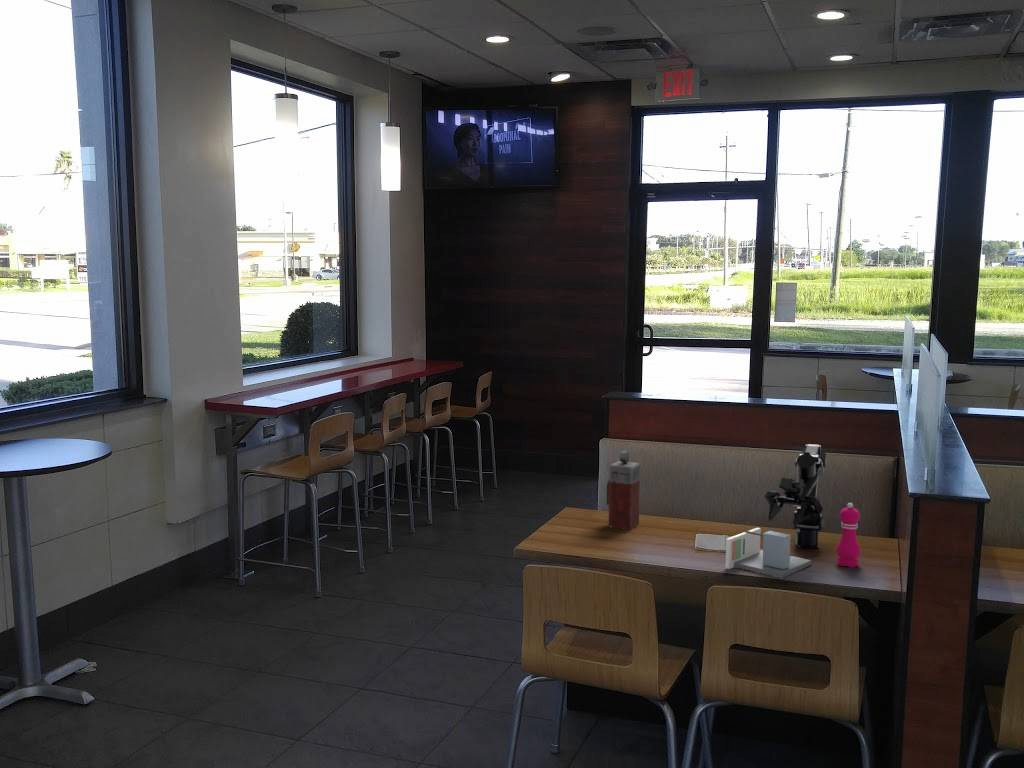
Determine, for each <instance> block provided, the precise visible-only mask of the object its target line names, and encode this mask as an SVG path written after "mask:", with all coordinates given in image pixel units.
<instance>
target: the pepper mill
mask: <svg viewBox="0 0 1024 768" xmlns="http://www.w3.org/2000/svg"><path fill="white" fill-rule="evenodd" d="M846 506H847V507H844V508H842V509H841V510H840V512H839V519H840V520H841V522H840V523H841V525H840V527H841V530H842V532H841V536H840V538H839V541H838V543H837V545H836V549H835V550H836V554H837V555H838V557H837V561H836V562H837V565H838V564H839V565H838V566H840V565H842V566H841V567H843V566H849V567H848V568H856V567H855V566H857V567H859V562H860V561H859V559H858V558H859V557H860V556H861V553H862V552H861V547H860V543H859V542H858V538H857V529H858V527H859V526H858V525H859V523H858V522H859V520H860V519H861V515H860V512H859V510H858V509H856V508H854V504H853V503H852V502H848V503H847V504H846Z"/></svg>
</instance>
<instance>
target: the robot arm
mask: <svg viewBox="0 0 1024 768" xmlns="http://www.w3.org/2000/svg"><path fill="white" fill-rule="evenodd" d="M821 447H822V445H819V444H815V443H814V444H812V443H811V444H810V443H807V444H805V448H804V449H803V450H802V451H801V453H799V455H798V457H796V459H795V462H794V464H795V468H796V471H797V475H798V476H797V478H796V479H794V478H788V477H781V478H780V480H779V484H778V488H779V489H782V490H783V493H782V494H784V495H785V496H781V494H780V492H779V491H774V490H772V491H771V490H768V491H767V492H766V493H765V495H764V498H765V500H766V502H767V503H768V504H769V511H768V516H767V517H768V521H770V522H771V521H772V520H774V518H775V517H777V515H778V514H779V513H780V512H781V511H782V509H783V507H784V505H785V504H786V505H791V506H794V507H795V506H796V507H797V508H796V510H794V514H793V515H794V518H793V521H792V524H793V525H794V526H793V527H794V528H793V529H795V530H796V531H795V534H794V535H795V536H794V537H795V538H794V545H796V546H797V547H798V548H799V549H820V546H819V532H821V531H823V529H824V520H823V519H824V518H823V517H822V511H823V506H822V504H821V502H820V500H819V499H818V497H817V493H818V484H819V478H821V476H823V475H824V472H825V469H826V468H827V452H825V451H824V450H823V449H822V448H821ZM781 508H782V509H781Z"/></svg>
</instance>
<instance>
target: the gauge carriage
mask: <svg viewBox="0 0 1024 768" xmlns="http://www.w3.org/2000/svg"><path fill="white" fill-rule="evenodd" d="M744 532H745V533H750V534H755V535H760V537H763V539H762V550H763V565H767V566H771V567H775V568H780V569H785V568H788V567H790V556H791V542H792V541H791V537H792V536H791V534H788V533H785V532H784V533H783V532H777V531H773V530H768V531H765V532H763V533H755V532H750V531H749V530H744Z"/></svg>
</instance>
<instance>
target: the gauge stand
mask: <svg viewBox="0 0 1024 768" xmlns="http://www.w3.org/2000/svg"><path fill="white" fill-rule="evenodd" d="M761 529H762V528H760V527H756V528H752V529H750V530H748V531H750V532H755V533H760V534H762V533H761ZM725 540H726V542H725V569H726V570H731V569H733V568H736V569H739V568H741V569H740V570H744V569H745V570H744V571H748V570H750V571H749V572H752V571H754V572H753V573H756V572H759V573H758V574H760V573H762V574H761V575H764V574H768V575H767V576H769V575H772V576H771V577H773V576H775V577H774V578H777V577H778V578H777V579H782V577H783V578H785V577H787V576H790V575H792V574H794V573H796V572H798V570H799V571H800V570H803V569H805V568H807V567H810V566H811V565H812V560H810V559H807V558H802V557H798V556H793V555H790V567H788V568H785V569H780V568H775V567H771V566H767V565H763V549H761V536H760V535H755V534H750V533H745V531H744V532H742V533H739V534H736V535H733V536H729V537H727V538H726V539H725ZM809 565H810V566H809ZM791 573H792V574H791ZM789 574H790V575H789Z"/></svg>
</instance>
